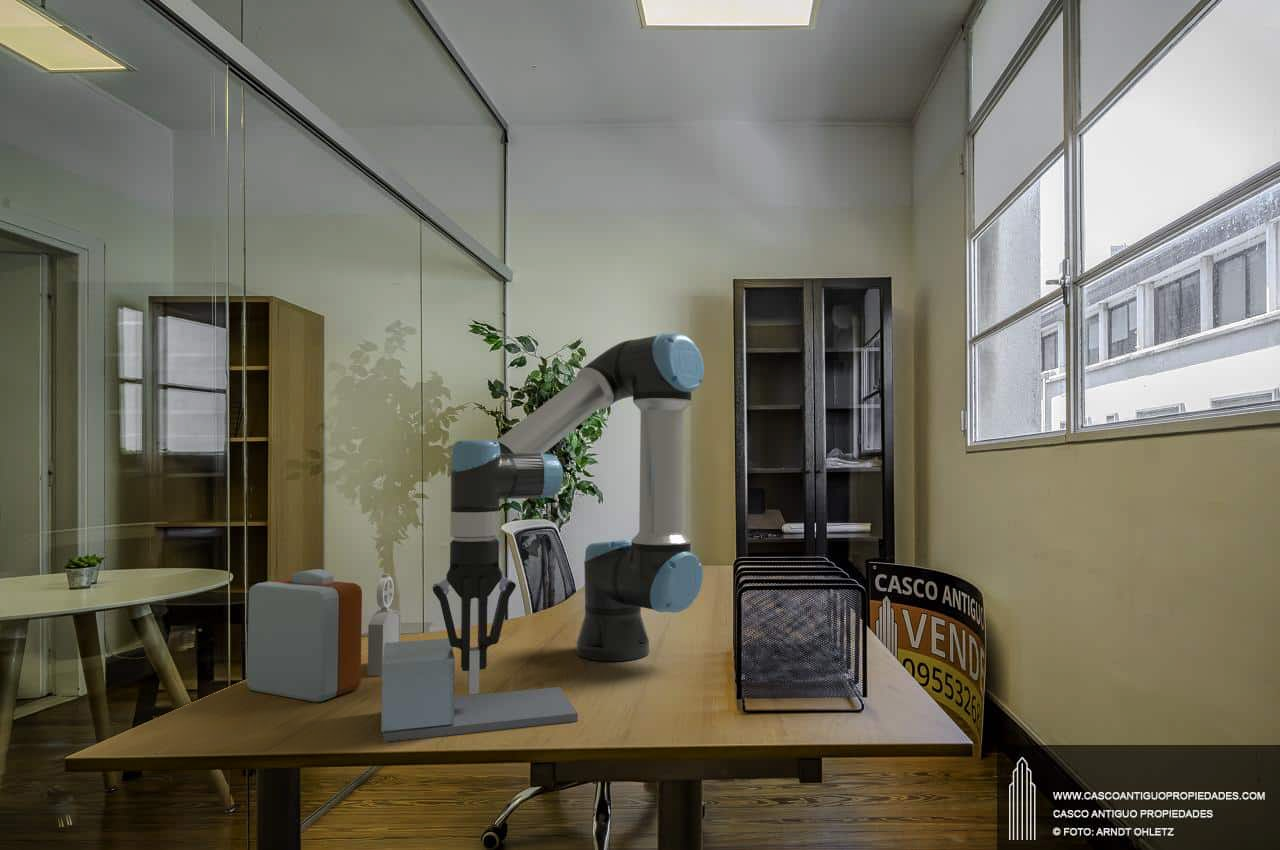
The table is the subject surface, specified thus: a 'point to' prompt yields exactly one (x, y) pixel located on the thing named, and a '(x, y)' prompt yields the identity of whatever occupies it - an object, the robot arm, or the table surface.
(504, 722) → the jig
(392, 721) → the grey upright block
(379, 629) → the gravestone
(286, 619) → the alarm clock
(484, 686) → the table surface
